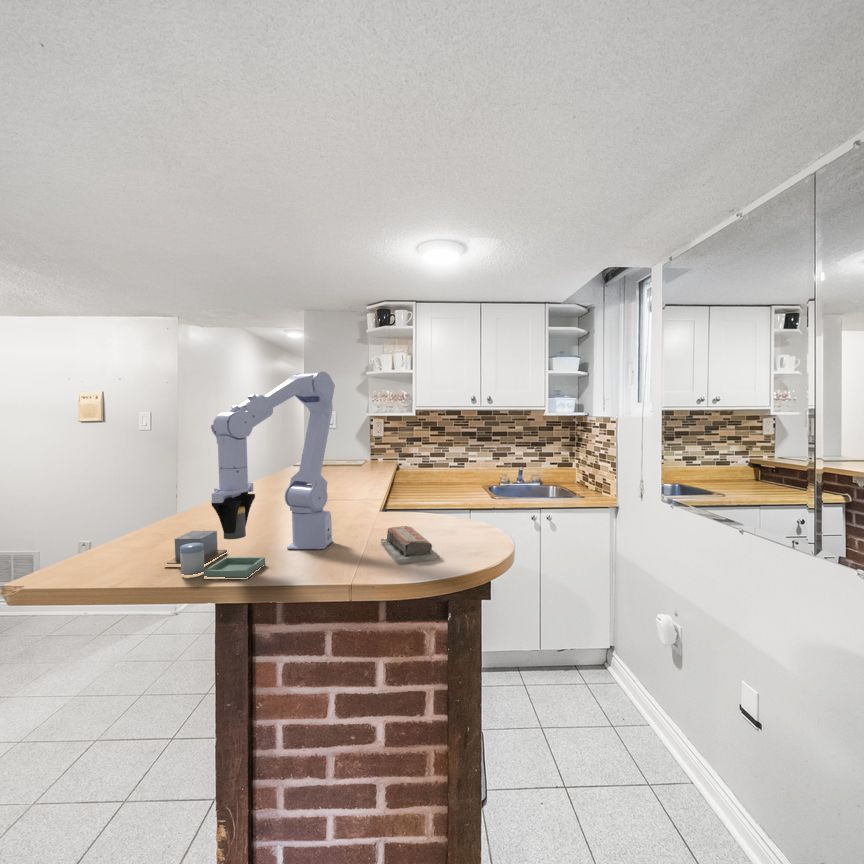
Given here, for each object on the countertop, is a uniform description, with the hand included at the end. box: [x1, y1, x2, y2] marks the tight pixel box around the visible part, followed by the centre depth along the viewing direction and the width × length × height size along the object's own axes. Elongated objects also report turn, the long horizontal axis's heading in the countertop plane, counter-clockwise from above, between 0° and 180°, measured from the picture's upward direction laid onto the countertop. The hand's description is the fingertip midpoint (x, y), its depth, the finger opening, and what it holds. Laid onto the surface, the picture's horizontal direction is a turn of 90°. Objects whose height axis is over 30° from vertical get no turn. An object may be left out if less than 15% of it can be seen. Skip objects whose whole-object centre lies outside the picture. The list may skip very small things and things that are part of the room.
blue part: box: [180, 543, 206, 575], centre depth 97 cm, size 4×4×6 cm
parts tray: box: [203, 556, 266, 578], centre depth 98 cm, size 9×9×2 cm
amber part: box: [223, 506, 247, 540], centre depth 100 cm, size 4×4×6 cm
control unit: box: [165, 530, 228, 564], centre depth 107 cm, size 9×10×6 cm
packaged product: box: [380, 525, 441, 565], centre depth 112 cm, size 18×5×10 cm
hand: (235, 530), depth 100 cm, fingers closed on amber part, 4 cm apart
